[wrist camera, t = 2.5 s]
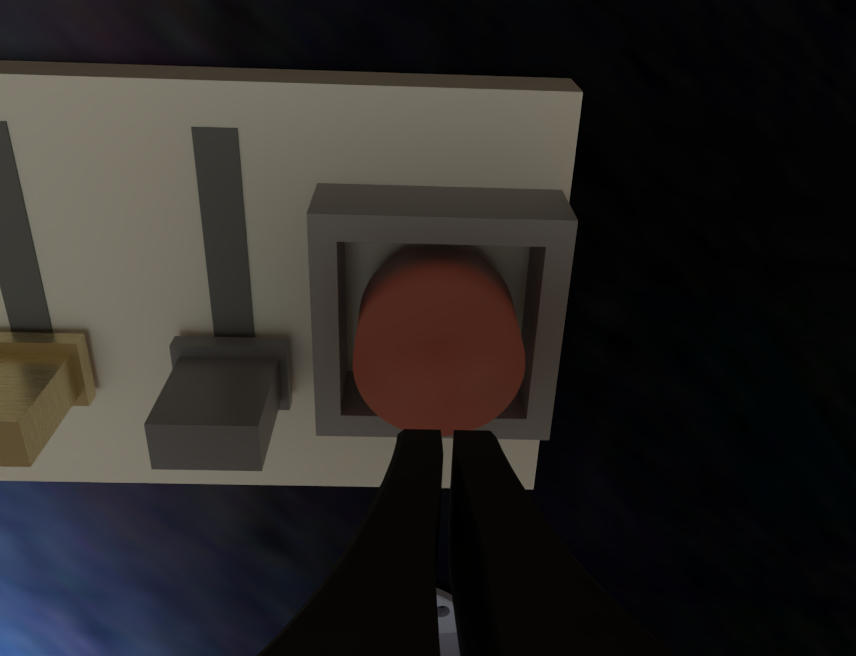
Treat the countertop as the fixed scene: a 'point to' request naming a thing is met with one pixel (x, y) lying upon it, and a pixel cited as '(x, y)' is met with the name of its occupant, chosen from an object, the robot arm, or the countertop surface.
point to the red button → (438, 341)
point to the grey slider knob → (219, 403)
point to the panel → (271, 239)
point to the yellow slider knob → (39, 390)
